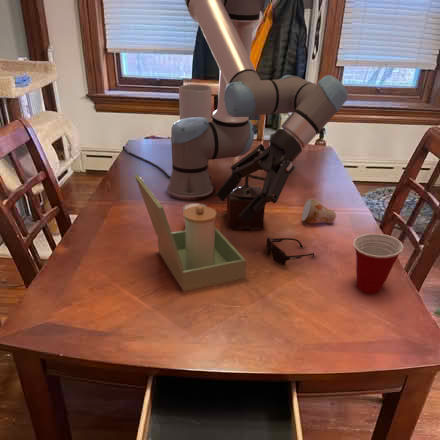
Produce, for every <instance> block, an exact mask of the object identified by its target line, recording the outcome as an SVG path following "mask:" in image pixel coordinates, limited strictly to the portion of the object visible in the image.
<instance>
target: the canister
mask: <svg viewBox="0 0 440 440" xmlns="http://www.w3.org/2000/svg"><path fill="white" fill-rule="evenodd" d="M217 213H218V212H217V211H216V209H214V208H211V207H209V206H206V207H204V206H202V205H198V206H195V207H190V208H188V209H186V210H185V211H184V212H183V211H182V217H183V220H184V219H185V223H184V230H185V257H186V267H187V268H188V269H189V270H190V269H195V268H200V267H205V266H210V265H214V259H215V227H216V219H217V216H218V215H217Z"/></svg>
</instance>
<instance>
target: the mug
mask: <svg viewBox="0 0 440 440" xmlns="http://www.w3.org/2000/svg"><path fill="white" fill-rule="evenodd" d="M336 218H337V213H336V211H335V210H333V209H330V208H328V207H326V206H325V205H324V204H322V203H321V202H320V201H319V200H317V199H314V198H313V199H312V198H309V199H308V200H307V201H306V202H305V204H304V206H303V209H302V213H301V221H302V222H304V223H305V224H306V223H307V224H319V223H326V224H332V223H334V222H335V221H336Z"/></svg>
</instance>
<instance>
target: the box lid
mask: <svg viewBox="0 0 440 440" xmlns="http://www.w3.org/2000/svg"><path fill="white" fill-rule="evenodd" d="M134 178H135V180H136V183H137V186H138V189H139V192H140V194H141V197H142V200H143V202H144V205H145V207H146V211H147V213H148V216H149V218H150V221H151V224H152V226H153V229H154V231H155V232H154V233H155V234H156V236H157V238H158V237H159V239H160V240H161V242H162V243H163V245H164V246H165V248H166V249H167V251H168V252H169V254H170V255H171V257H172V258H173V260H174V261H175V263H176V264H177V266H178V267H179V269H180V270H181V272H182V271H184V267H183V264H182V261H181V258H180V256H179V253H178V250H177V247H176V244H175V241H174V238H173V235H172V232H173V231H172V228H171V227H170V224H169V221H168V218H167V215H166V212H165V208H164V206H163V205H162V204H161V202H160V201H159V200H158V199H157V197H156V196H155V195H154V193H153V192H152V191H151V189H150V188H149V187H148V186H147V184H146V183H145V182H144V180H143V179H142V177H140V175H139V174H135V175H134Z"/></svg>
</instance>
